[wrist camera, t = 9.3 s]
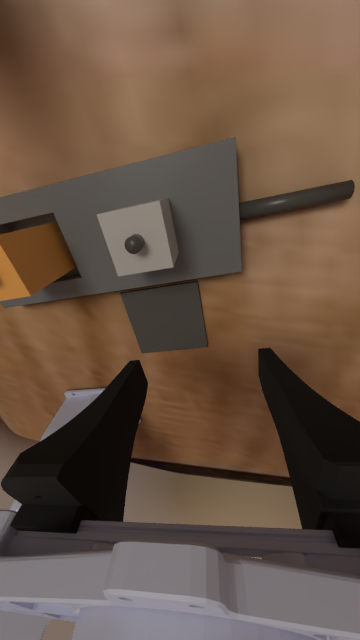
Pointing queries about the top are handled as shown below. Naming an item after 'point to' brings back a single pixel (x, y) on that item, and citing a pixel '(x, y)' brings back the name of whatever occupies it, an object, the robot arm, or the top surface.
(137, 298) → the mat
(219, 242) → the grey panel with knob
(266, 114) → the top surface
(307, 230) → the top surface
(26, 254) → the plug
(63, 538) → the robot arm
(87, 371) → the top surface
